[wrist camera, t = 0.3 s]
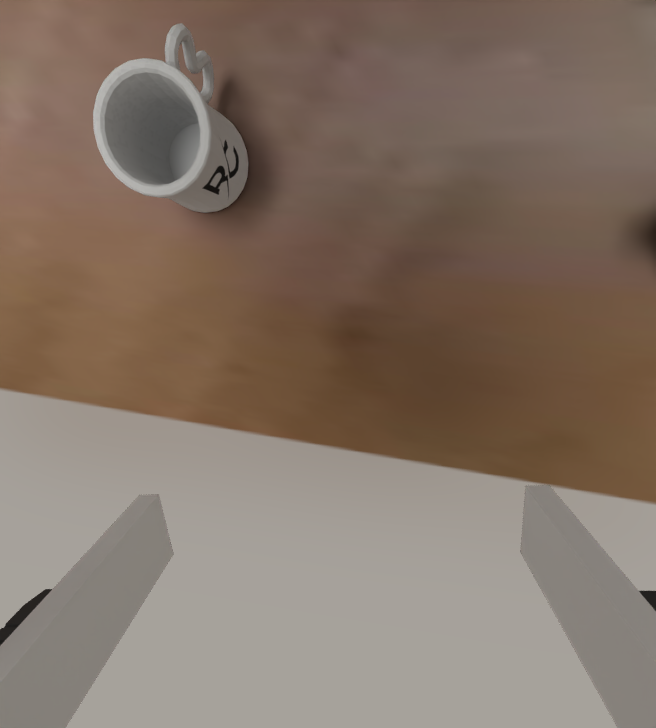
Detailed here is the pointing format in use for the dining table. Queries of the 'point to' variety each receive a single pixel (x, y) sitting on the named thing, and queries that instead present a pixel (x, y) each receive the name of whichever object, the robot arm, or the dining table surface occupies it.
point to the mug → (170, 130)
